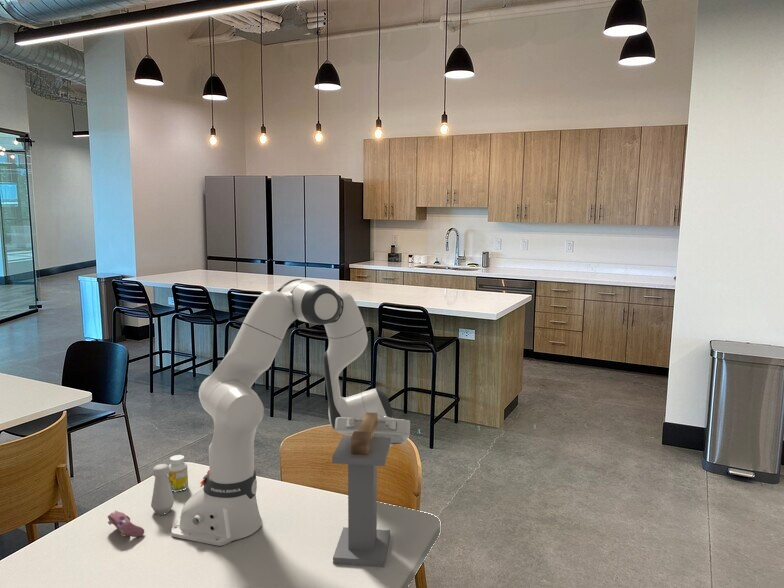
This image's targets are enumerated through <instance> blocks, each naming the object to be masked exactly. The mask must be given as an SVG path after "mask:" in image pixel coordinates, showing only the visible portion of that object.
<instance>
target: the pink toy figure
mask: <svg viewBox="0 0 784 588" xmlns="http://www.w3.org/2000/svg"><path fill="white" fill-rule="evenodd" d="M107 519H108V521H107V524H108V525H110V526H111V525H114V527H115V528H116V529H117V530H118V531H119V532H120V534H121V536H124V535H125V536H124V537H126V538H128V537H132V538H133V537H134V538H140V537H142V536H144V534H145V529H144V528H143V527H141V526H139V525H136V524H134V523H133V522H132V521H131V517H130V516H129V515H126V514H125V513H124V512H121V511H118V510H115V511H113V512H111V513H110V514H108V515H107Z"/></svg>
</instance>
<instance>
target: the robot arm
mask: <svg viewBox="0 0 784 588" xmlns="http://www.w3.org/2000/svg"><path fill="white" fill-rule="evenodd" d="M296 320H298V321H300V322H304V323H308V324H312V325H316V326H317V325H318V326H321V325H323V326H324V329H325V332H326V336H327V339H328V346H327V350H326V351H324V353H323V356H322V358H323V359H322V366H323V373H324V380H325V381H324V382H325V387H326V397H327V402H328V411H327V412H328V419H329V420H328V421H329V424H330V426H331V427H332V429H333V430H334V431H335V432H337V433H338V434H341V435H342V434H343V435H347V436H352V435H353V432H354V431H358V430H359V428H360V425H361V423H362V421H363V419H364V416H365V414H366V412H368V413H377V426H376V429H375V432H374V435H373V437H388V438H391V444H390V448H391V447H392V446H393V445H398V444H399V445H401V444H406V442H407V440H408V439H409V437H410V431H411V420H409V419H402V418H395V417H394V413H393V409H392V406H391V402H390V401H389V398H388V396H387V394H386V393H385V392H384V391H383V390H381V389H380V388H378V387H377V388H371V389H368V390H365V391H361V392H360V393H359V392H358V393H356V394H353V395H350V396H346V397H344V396H342V395H341V388H340V387H341V386H340V379H339V377H340V376H339V375H340V374H341V372H342V371H343V370H344V369H345V368H346V367H347V366H348V365H350V364H352V362H354V361H355V360H357V359H358V358H359V357H361V355H362V354H363V352H364V351H365V350H366V348H367V345H368V342H369V338H368V333H367V328H366V324H365V322H364V319H363V315H362V313H361V311H360V309H359V307H358V305H357V302H356V301H355V299H354V297H353V296H352V294H350V293H348V292H346V291H335V290H334V288H331V287H330V286H328V285H326V284H320V283H318V282H317V281H314V280H308V279H301V278H295V279H290V280H288V281H287V282H285V283H284V284H282V286H280V288H278V289H276V290H272V289H271V290H266V291H263V292H262V293H261V294H260V295H259V296H258V297H257V299H256V300H255V301H254V302H253V304H252V305H251V307H250V309H249V310H248V312H247V314H246V316H245V318H244V320H243V322H242V324H241V326H240V328H239V330H238V332H237V334H236V336H235V338H234V341H233V342H232V345H231V347H230V348H229V349H228V351H227V353H226V354H225V356H224V357H223V359H222V360H221V362H220V363H219V364H218V365H217V367H216V368H215V370H214V371H213V372H212V373H211V374H210V375H208V376H207V377H206V378H204V380H202V382H201V383H200V386H199V387H198V388H199V389H198V397H199V402H200V405H201V406H202V408H203V409H204V411H205V412H206V413H207V414H208V415H210V417H211V418H212V421H213V428H214V429H213V434H212V435H213V436H212V440H211V442H210V444H209V446H208V461H209V462H208V466H209V469H208V470H207V472H206V474H205V475H204V476H203V478H202V480H201V481H200V483H199V484H200V486H199V487H200V488H201V489H199V490H197V492H195V493H194V494H193V495H191V496H190V497H189V498H188V500H186V502H185V503H184V505H183V507H182V509H181V513H180V515H179V516H178V517H177V519H176V520H175V521H174V522H173V524H172V527H171V529H170V531H171V532H170V533H171V537H173V538H178V539H183V540H188V541H192V542H193V541H194V542H197V543H203V544H208V545H213V546H219V547H221V546H225V545H227V544H229V543H231V542H232V541H233V542H234V541H236V540H240V539H243V538H246V537H248V536H251V535H253V534H254V533H256V532H257V531H258V530H259V529H260V528H261V526H262V524H263V519H262V517H261V514H260V511H259V506H258V502H257V495H256V494H257V488H258V486H257V485H258V484H257V473H256V469H255V456H254V455H255V452H254V451H255V449H254V448H255V438H256V432H257V427H258V426H259V425H260V424H261V422H262V420H263V417H264V414H265V407H264V404H263V402H262V400H261V398H260V397H259V395H258V393H256V391H255V390H254V389H252V387H253V385H254V383H255V382H256V381H257V379H258V378H259V377H260V376H261V375H262V374H263V373H264V372H266V371H268V370H269V369H270V367H271V366H272V364H273V361H274V359H275V358H276V355H277V353H278V352H279V348H280V347H281V344H282V342H283V340H284V338H285V336H286V334H287V330H288V329H289V327H290V326H291V324H293V323H294V322H295V321H296Z"/></svg>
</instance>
